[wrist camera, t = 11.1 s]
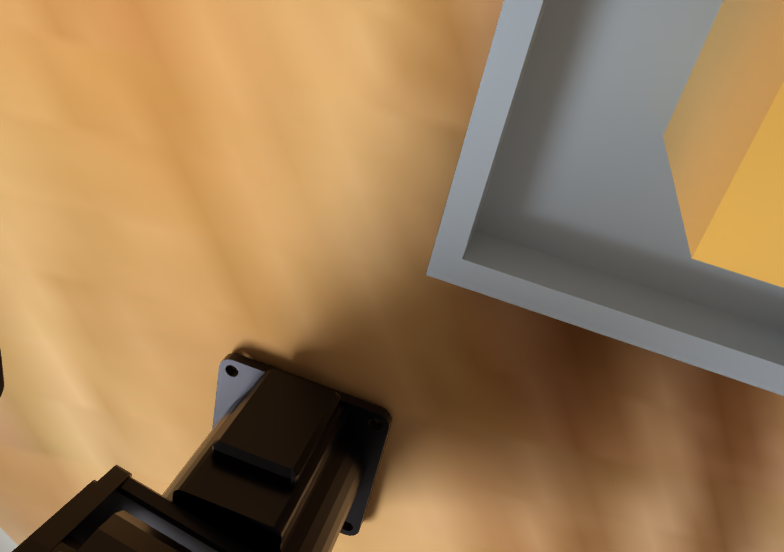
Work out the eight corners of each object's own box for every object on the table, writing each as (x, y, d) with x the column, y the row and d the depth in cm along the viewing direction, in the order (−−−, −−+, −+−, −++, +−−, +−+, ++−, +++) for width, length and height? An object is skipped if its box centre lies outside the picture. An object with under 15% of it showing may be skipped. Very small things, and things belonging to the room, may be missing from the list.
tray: (842, 368, 19) (872, 425, 17) (444, 237, 20) (425, 274, 18) (1272, -227, 12) (1416, -258, 10) (619, -359, 13) (620, -410, 11)
